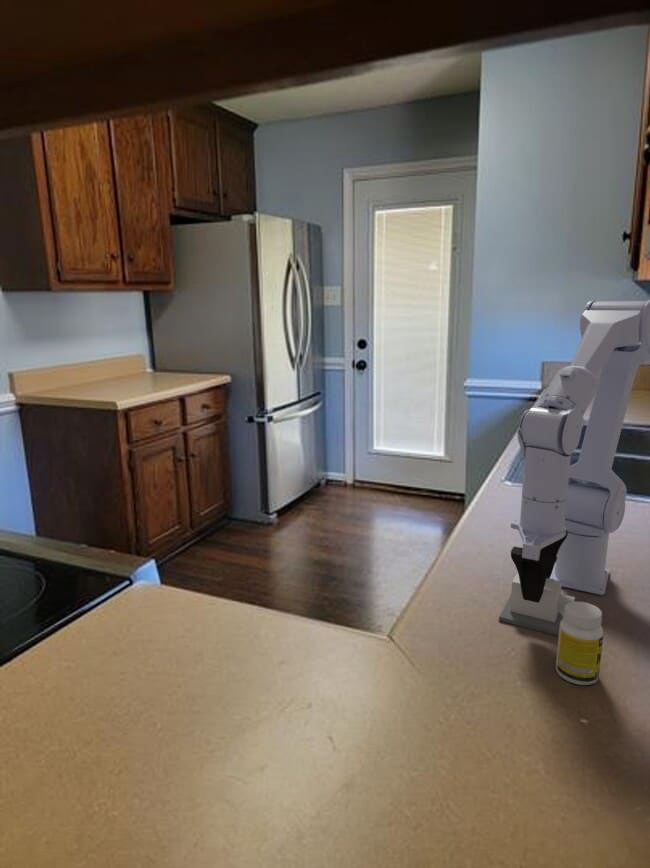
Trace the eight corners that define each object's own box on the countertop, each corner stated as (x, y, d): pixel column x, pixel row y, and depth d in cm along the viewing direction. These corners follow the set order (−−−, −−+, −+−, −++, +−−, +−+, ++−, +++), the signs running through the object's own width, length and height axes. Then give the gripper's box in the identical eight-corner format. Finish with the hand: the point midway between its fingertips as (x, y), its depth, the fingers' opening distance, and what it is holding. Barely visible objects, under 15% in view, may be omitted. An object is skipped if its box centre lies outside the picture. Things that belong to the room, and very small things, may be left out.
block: (515, 600, 85) (517, 572, 84) (573, 614, 81) (576, 584, 80) (510, 611, 82) (512, 581, 81) (569, 626, 78) (572, 595, 78)
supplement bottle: (603, 689, 67) (610, 622, 65) (559, 684, 68) (565, 618, 66) (593, 664, 71) (599, 601, 69) (552, 659, 72) (557, 597, 70)
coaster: (512, 596, 88) (512, 592, 88) (568, 609, 84) (569, 605, 84) (498, 620, 81) (499, 616, 81) (560, 636, 77) (560, 632, 77)
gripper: (524, 477, 87) (518, 562, 90) (500, 507, 74) (495, 603, 77) (575, 484, 83) (567, 572, 86) (559, 516, 71) (550, 617, 74)
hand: (536, 588), depth 82 cm, fingers open, 7 cm apart
